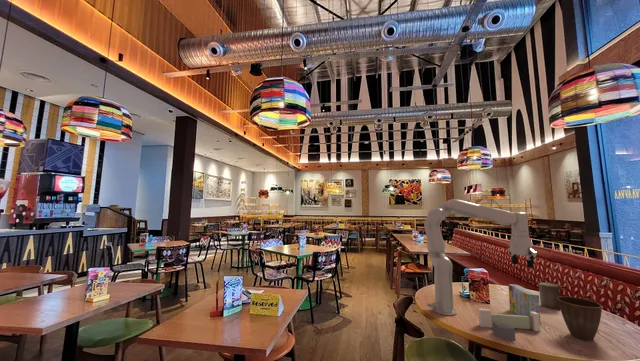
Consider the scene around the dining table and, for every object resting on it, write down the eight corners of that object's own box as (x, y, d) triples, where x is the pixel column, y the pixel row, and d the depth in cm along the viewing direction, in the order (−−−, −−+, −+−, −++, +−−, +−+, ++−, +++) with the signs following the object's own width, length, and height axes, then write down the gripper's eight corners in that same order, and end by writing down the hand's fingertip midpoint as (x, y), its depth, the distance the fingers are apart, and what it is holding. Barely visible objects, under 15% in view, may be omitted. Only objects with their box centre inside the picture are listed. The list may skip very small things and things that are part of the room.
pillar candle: (566, 310, 155) (563, 284, 157) (549, 310, 155) (546, 283, 158) (551, 304, 165) (549, 280, 167) (536, 304, 165) (534, 279, 167)
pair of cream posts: (481, 327, 131) (480, 310, 132) (478, 324, 134) (478, 308, 135) (540, 331, 127) (539, 314, 128) (536, 328, 130) (534, 311, 131)
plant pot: (614, 343, 116) (610, 305, 118) (592, 347, 112) (588, 308, 114) (573, 328, 130) (570, 295, 132) (552, 332, 126) (549, 297, 128)
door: (492, 326, 131) (491, 314, 131) (491, 325, 132) (490, 312, 133) (533, 329, 128) (532, 316, 129) (531, 328, 130) (529, 315, 130)
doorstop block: (501, 339, 118) (500, 327, 119) (493, 332, 125) (492, 321, 126) (515, 340, 118) (514, 328, 118) (506, 333, 125) (505, 322, 125)
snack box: (542, 325, 134) (539, 295, 135) (529, 324, 135) (527, 294, 137) (519, 310, 154) (517, 284, 156) (509, 309, 155) (507, 283, 157)
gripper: (501, 233, 154) (503, 262, 152) (528, 235, 137) (530, 269, 135) (513, 233, 155) (515, 262, 153) (540, 235, 138) (543, 269, 136)
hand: (522, 265), depth 144 cm, fingers open, 9 cm apart
